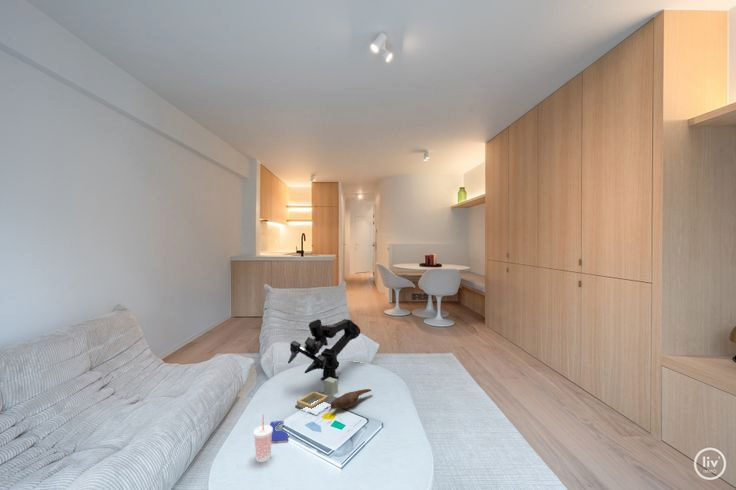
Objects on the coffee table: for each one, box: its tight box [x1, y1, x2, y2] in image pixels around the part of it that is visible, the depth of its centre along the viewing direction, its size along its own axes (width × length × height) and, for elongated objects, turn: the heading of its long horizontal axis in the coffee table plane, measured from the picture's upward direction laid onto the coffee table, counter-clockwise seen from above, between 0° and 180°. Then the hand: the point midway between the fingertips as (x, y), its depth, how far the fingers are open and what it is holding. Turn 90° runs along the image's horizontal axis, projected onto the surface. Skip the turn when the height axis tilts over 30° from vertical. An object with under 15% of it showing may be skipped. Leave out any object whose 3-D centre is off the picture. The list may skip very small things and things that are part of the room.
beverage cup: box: [253, 414, 273, 463], centre depth 105 cm, size 6×6×14 cm
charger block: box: [323, 377, 339, 396], centre depth 150 cm, size 4×5×6 cm
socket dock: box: [294, 391, 338, 410], centre depth 139 cm, size 15×12×3 cm
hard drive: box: [269, 420, 290, 445], centre depth 118 cm, size 2×8×12 cm
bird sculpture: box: [328, 388, 372, 413], centre depth 138 cm, size 7×25×5 cm, turn 137°
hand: (296, 367), depth 143 cm, fingers open, 9 cm apart
